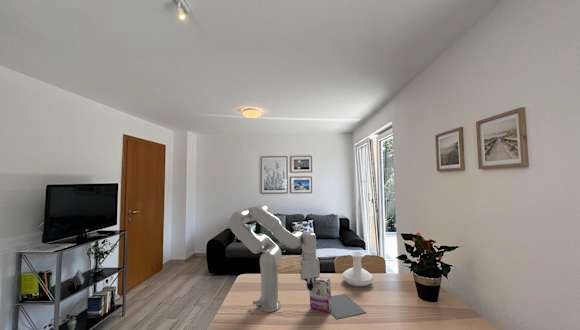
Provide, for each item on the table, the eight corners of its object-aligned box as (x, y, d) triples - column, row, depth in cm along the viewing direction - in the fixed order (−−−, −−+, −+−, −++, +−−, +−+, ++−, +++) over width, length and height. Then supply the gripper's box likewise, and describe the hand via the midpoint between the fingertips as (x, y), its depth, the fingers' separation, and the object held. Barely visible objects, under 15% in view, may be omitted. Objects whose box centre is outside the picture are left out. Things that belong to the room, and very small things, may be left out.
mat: (336, 319, 126) (336, 318, 126) (318, 298, 146) (318, 298, 146) (366, 313, 131) (366, 312, 131) (344, 294, 152) (344, 293, 152)
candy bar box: (332, 308, 135) (330, 278, 136) (329, 313, 130) (327, 281, 131) (313, 304, 140) (311, 275, 141) (309, 309, 135) (308, 278, 137)
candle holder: (340, 276, 179) (340, 249, 180) (368, 276, 178) (367, 250, 179) (345, 289, 159) (345, 259, 160) (376, 289, 158) (376, 259, 159)
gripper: (298, 259, 128) (299, 294, 128) (324, 256, 133) (325, 290, 132) (294, 255, 136) (294, 288, 135) (319, 252, 140) (319, 284, 139)
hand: (310, 289), depth 133 cm, fingers closed
